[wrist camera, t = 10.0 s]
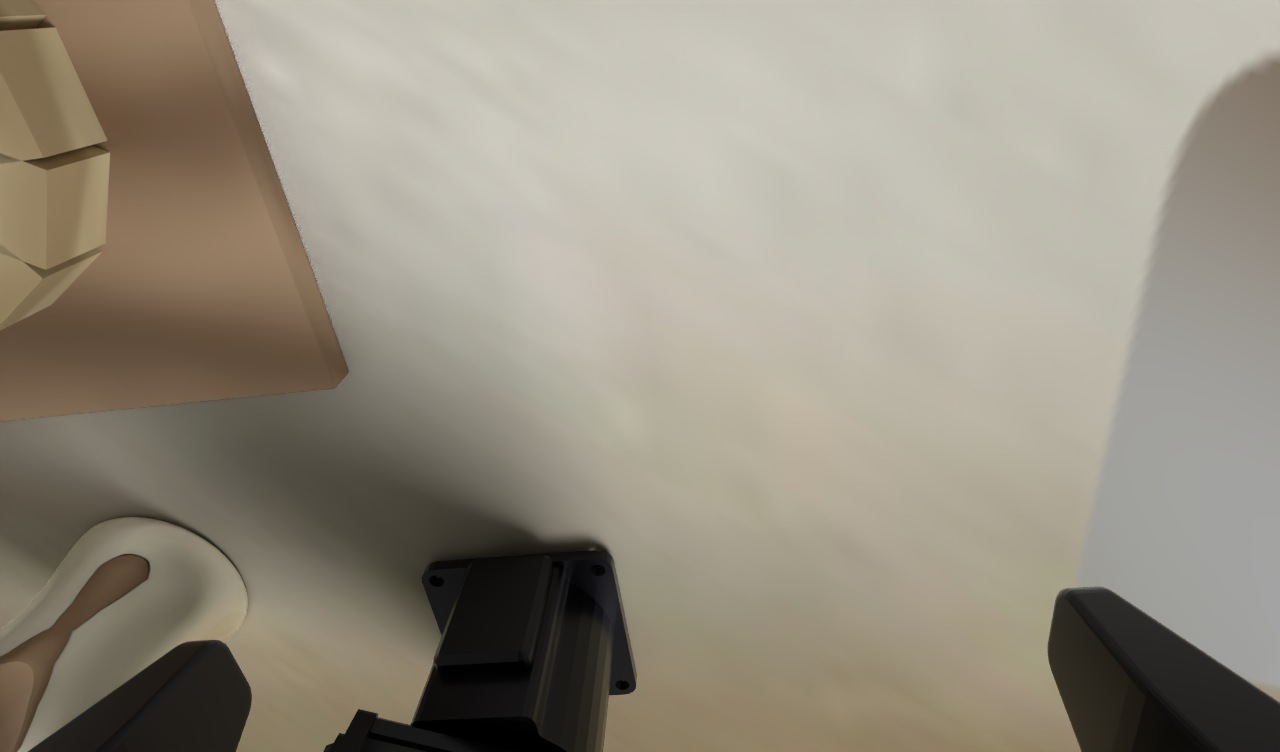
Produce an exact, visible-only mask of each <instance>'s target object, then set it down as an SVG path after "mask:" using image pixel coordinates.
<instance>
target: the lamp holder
mask: <svg viewBox="0 0 1280 752" xmlns="http://www.w3.org/2000/svg"><path fill="white" fill-rule="evenodd" d="M348 372H349V371H348V368H347V365H346V362H345V360H344V357H343V354H342V351H341V349H340V346H339V343H338V340H337V338H336V335H335V332H334V329H333V327H332V324H331V321H330V318H329V316H328V313H327V310H326V307H325V305H324V302H323V299H322V296H321V294H320V291H319V288H318V285H317V283H316V280H315V277H314V274H313V272H312V269H311V266H310V263H309V261H308V258H307V255H306V252H305V249H304V247H303V244H302V241H301V238H300V236H299V233H298V230H297V227H296V225H295V222H294V219H293V216H292V214H291V211H290V208H289V205H288V203H287V200H286V197H285V194H284V192H283V189H282V186H281V183H280V181H279V178H278V175H277V172H276V170H275V167H274V164H273V161H272V159H271V156H270V153H269V150H268V148H267V145H266V142H265V139H264V137H263V134H262V131H261V128H260V126H259V123H258V120H257V117H256V115H255V112H254V109H253V106H252V104H251V101H250V98H249V95H248V92H247V90H246V87H245V84H244V81H243V79H242V76H241V73H240V70H239V68H238V65H237V62H236V59H235V57H234V54H233V51H232V48H231V46H230V43H229V40H228V37H227V35H226V32H225V29H224V26H223V24H222V21H221V18H220V15H219V13H218V10H217V7H216V4H215V2H214V0H0V422H1V421H11V420H21V419H31V418H41V417H51V416H62V415H72V414H82V413H92V412H102V411H112V410H122V409H132V408H142V407H152V406H162V405H172V404H182V403H192V402H202V401H212V400H222V399H233V398H243V397H253V396H263V395H273V394H283V393H293V392H303V391H313V390H323V389H333V388H335V387H336V386H337V385H338V384H339V383H340V382H341V380H342V379H343V378H344V377H345V376H346V375H347V374H348Z"/></svg>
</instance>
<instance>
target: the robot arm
mask: <svg viewBox="0 0 1280 752" xmlns="http://www.w3.org/2000/svg"><path fill="white" fill-rule="evenodd" d="M596 564H597V565H602V566H603V567H601V568H598V567H595V566H593V565H596ZM435 576H439V577H441V578H442V579H441V578H437V577H435ZM422 583H423V585H424V588H425V591H426V594H427V596H428V599H429V602H430V604H431V607H432V610H433V613H434V615H435V618H436V621H437V624H438V626H439V629H440V632H441V635H442V637H441V640H440V643H439V645H438V648H437V651H436V653H435V656H434V663H433V666H432V668H431V671H430V674H429V677H428V679H427V682H426V685H425V687H424V690H423V693H422V696H421V698H420V701H419V704H418V706H417V709H416V712H415V715H414V717H413V720H412V723H411V725H408V724H403V723H399V722H395V721H391V720H387V719H382V718H378V714H377V713H373V712H369V711H365V710H360V709H358V711H357V713H356V715H355V716H354V718H353V720H352V722H351V724H350V726H349V727H348V729H347V731H346V733H345V734H341V733H339V735H338V736H337V738H336V740H335V742H334V743H332V744H330V745H327V746H326V747H325V750H324V752H603V746H604V736H605V727H606V717H607V708H608V698H609V695H622V694H629V693H631V692H633V691H634V690H635V688H636V678H637V674H636V669H635V664H634V659H633V654H632V649H631V644H630V639H629V634H628V629H627V624H626V619H625V614H624V609H623V604H622V599H621V594H620V589H619V584H618V579H617V574H616V569H615V564H614V560H613V558H612V556H611V555H609V554H608V553H606V552H604V551H598V550H595V551H581V552H566V553H552V554H538V555H524V556H510V557H496V558H482V559H467V560H453V561H439V562H433V563H430V564H429V565H428V566H427V568H426V570H425V572H424V574H423V577H422ZM1048 659H1049V664H1050V668H1051V671H1052V674H1053V676H1054V679H1055V682H1056V684H1057V687H1058V690H1059V692H1060V695H1061V698H1062V701H1063V703H1064V706H1065V709H1066V711H1067V714H1068V717H1069V719H1070V722H1071V725H1072V727H1073V730H1074V733H1075V735H1076V738H1077V741H1078V743H1079V746H1080V749H1081V752H1280V702H1279V701H1277V700H1276V699H1274V698H1272V697H1271V696H1269V695H1268V694H1266V693H1265V692H1263V691H1262V690H1260V689H1259V688H1257V687H1256V686H1254V685H1253V684H1251V683H1250V682H1248V681H1247V680H1245V679H1244V678H1242V677H1241V676H1239V675H1238V674H1236V673H1235V672H1233V671H1232V670H1230V669H1229V668H1227V667H1226V666H1224V665H1223V664H1221V663H1220V662H1218V661H1217V660H1215V659H1214V658H1212V657H1211V656H1209V655H1208V654H1206V653H1205V652H1203V651H1202V650H1200V649H1199V648H1197V647H1196V646H1194V645H1193V644H1191V643H1190V642H1188V641H1187V640H1185V639H1184V638H1182V637H1181V636H1179V635H1178V634H1176V633H1175V632H1173V631H1172V630H1170V629H1169V628H1167V627H1166V626H1164V625H1163V624H1161V623H1159V622H1157V620H1155V619H1153V618H1152V617H1151V616H1149V615H1147V614H1146V613H1145V612H1143V611H1142V610H1140V609H1138V608H1137V607H1136V606H1134V605H1133V604H1131V603H1130V602H1128V601H1126V600H1125V599H1123V598H1122V597H1120V596H1119V595H1117V594H1116V593H1114V592H1112V591H1111V590H1109V589H1106V588H1104V587H1082V588H1066V589H1063V590H1061V591H1060V592H1059V593H1058V595H1057V597H1056V600H1055V606H1054V612H1053V618H1052V623H1051V629H1050V635H1049V641H1048ZM623 680H624V681H623ZM251 701H252V694H251V689H250V686H249V684H248V682H247V680H246V678H245V676H244V675H243V673H242V671H241V669H240V667H239V666H238V664H237V662H236V660H235V659H234V657H233V655H232V653H231V651H230V650H229V648H228V647H227V645H226V644H225V643H223V642H222V641H220V640H200V641H188V642H184V643H182V644H179V645H178V646H176V647H175V648H173V649H172V650H170V651H169V652H168V653H166V654H165V655H163V656H162V657H160V658H159V659H158V660H156V661H155V662H153V663H152V664H151V665H149V666H148V667H146V668H145V669H143V670H142V671H141V672H139V673H138V674H136V675H135V676H134V677H132V678H131V679H129V680H128V681H127V682H125V683H124V684H122V685H121V686H119V687H118V688H117V689H115V690H114V691H112V692H111V693H110V694H108V695H107V696H105V697H104V698H102V699H101V700H100V701H98V702H97V703H95V704H94V705H93V706H91V707H90V708H88V709H87V710H85V711H84V712H83V713H81V714H80V715H78V716H77V717H76V718H74V719H73V720H71V721H70V722H68V723H67V724H66V725H64V726H63V727H61V728H60V729H59V730H57V731H56V732H54V733H53V734H51V735H50V736H49V737H47V738H46V739H44V740H43V741H42V742H40V743H39V744H37V745H36V746H34V747H33V748H32V749H30V750H29V751H27V752H236V749H237V746H238V743H239V741H240V738H241V735H242V732H243V729H244V726H245V723H246V720H247V717H248V715H249V711H250V708H251Z"/></svg>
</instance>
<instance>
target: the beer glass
mask: <svg viewBox="0 0 1280 752" xmlns="http://www.w3.org/2000/svg"><path fill="white" fill-rule="evenodd" d="M247 609H248V596H247V591H246V588H245V585H244V582H243V580H242V578H241V576H240V574H239V573H238V571H237V570H236V568H235V567H234V565H233V564H232V563H231V562H230V561H229V559H228V558H227V557H226V556H225V555H224V554H223V553H222V552H221V551H219V550H218V549H217V548H216V547H215V546H213V545H212V544H211V543H209V542H208V541H206V540H205V539H203V538H202V537H200V536H198V535H197V534H195V533H193V532H191V531H189V530H187V529H184V528H182V527H180V526H177V525H174V524H171V523H168V522H165V521H161V520H156V519H151V518H142V517H122V518H115V519H111V520H107V521H104V522H102V523H100V524H98V525H96V526H94V527H92V528H91V529H89V530H88V531H87V532H85V533H84V534H83V535H82V536H81V538H80V539H79V540H78V541H77V542H76V543H75V544H74V546H73V547H72V548H71V550H70V551H69V552H68V554H67V555H66V557H65V558H64V559H63V561H62V562H61V563H60V565H59V566H58V568H57V569H56V570H55V572H54V573H53V575H52V576H51V577H50V579H49V580H48V581H47V583H46V584H45V585H44V587H43V588H42V589H41V590H40V591H39V593H38V594H37V595H36V596H35V597H34V598H33V600H32V601H31V602H30V603H29V604H28V605H26V606H25V607H24V608H23V609H22V610H21V611H20V612H19V613H18V614H17V615H16V616H15V617H14V618H13V619H12V620H10V621H9V622H8V623H7V624H6V625H4V626H3V627H2V628H1V629H0V752H27V751H29V750H30V749H32V748H33V747H34V746H36V745H37V744H39V743H40V742H42V741H43V740H44V739H46V738H47V737H49V736H50V735H51V734H53V733H54V732H56V731H57V730H59V729H60V728H61V727H63V726H64V725H66V724H67V723H68V722H70V721H71V720H73V719H74V718H76V717H77V716H78V715H80V714H81V713H83V712H84V711H85V710H87V709H88V708H90V707H91V706H93V705H94V704H95V703H97V702H98V701H100V700H101V699H102V698H104V697H105V696H107V695H108V694H110V693H111V692H112V691H114V690H115V689H117V688H118V687H119V686H121V685H122V684H124V683H125V682H127V681H128V680H129V679H131V678H132V677H134V676H135V675H136V674H138V673H139V672H141V671H142V670H143V669H145V668H146V667H148V666H149V665H151V664H152V663H153V662H155V661H156V660H158V659H159V658H160V657H162V656H163V655H165V654H166V653H168V652H169V651H170V650H172V649H173V648H175V647H176V646H178V645H179V644H182V643H184V642H188V641H200V640H220V641H222V642H223V643H225V644H226V643H227V642H228V641H229V640H230V639H231V637H232V636H233V635H234V634H235V633H236V632H237V631H238V629H239V628H240V627H241V625H242V624H243V622H244V619H245V617H246V614H247Z"/></svg>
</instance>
